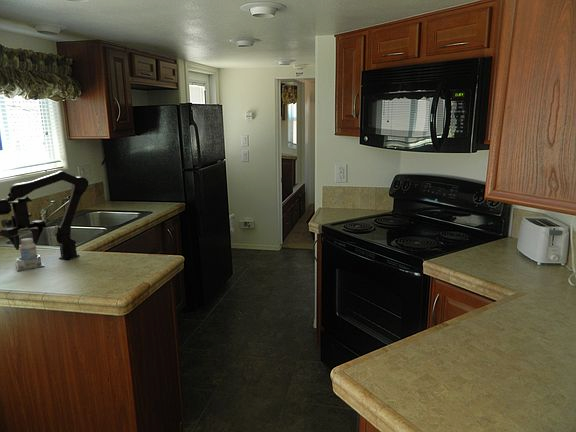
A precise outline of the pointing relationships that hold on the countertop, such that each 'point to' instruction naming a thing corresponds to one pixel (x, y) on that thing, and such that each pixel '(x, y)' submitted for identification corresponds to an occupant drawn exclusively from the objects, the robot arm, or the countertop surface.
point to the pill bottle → (28, 249)
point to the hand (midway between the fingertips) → (26, 246)
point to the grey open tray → (29, 263)
